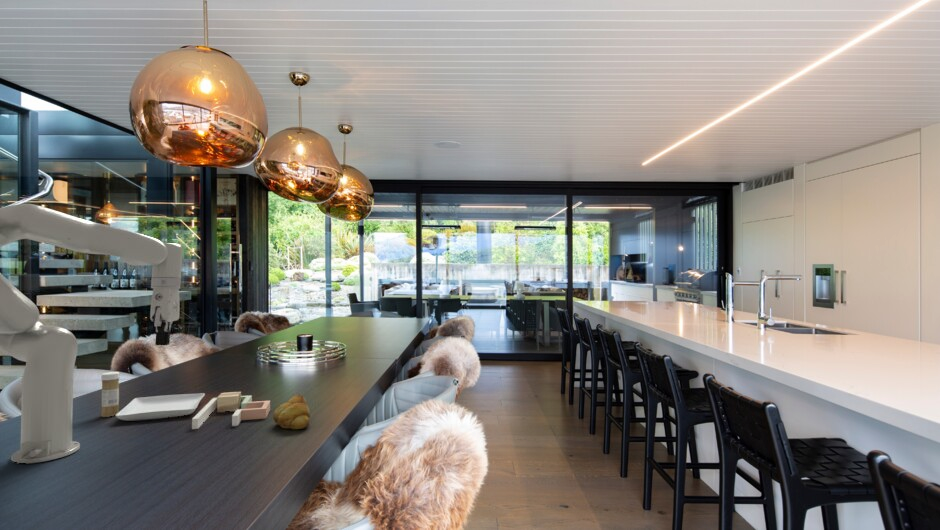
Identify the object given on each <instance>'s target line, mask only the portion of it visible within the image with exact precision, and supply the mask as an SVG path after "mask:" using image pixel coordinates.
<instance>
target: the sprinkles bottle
mask: <svg viewBox="0 0 940 530" xmlns="http://www.w3.org/2000/svg"><path fill="white" fill-rule="evenodd" d="M119 381H120V372H119V371H108V372H103V373H101V414H100V417H101V418H111V417H110V416H112V417H115V416H114V415H116V414H117V413H118V412H120V411H119V407H120V406H119V402H120V382H119Z"/></svg>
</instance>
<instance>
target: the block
mask: <svg viewBox="0 0 940 530" xmlns="http://www.w3.org/2000/svg"><path fill="white" fill-rule="evenodd" d="M241 396H242V391H230V392H229V391H228V392H221V393H220V394H219V395H218V396H217V397H216V398H217V408H216V413H226V412H225V411H230V412H235V411H236V410H237V409H241Z"/></svg>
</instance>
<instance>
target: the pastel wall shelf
mask: <svg viewBox="0 0 940 530" xmlns="http://www.w3.org/2000/svg"><path fill="white" fill-rule="evenodd" d="M216 410H217V397H212V398H211V399H210V400H209V401H208V402H207V403H206V404H205V405H204V406H203V407H202V408H201V409H200V410H199V411H198V412H197V414H196V415H195V416H193V417H192V419H191V430H198V429H199V428H200V427H201V426H202V425H203V424H204V423H205V421H207V420H208V418H209V417H210V416H211V415H212V414H213V413H214V411H216ZM270 411H271V400H260V401H259V400H258V401H257V400H256V401H253V396H252V395H241V407H240V408H239V409H237V410H236V411H234V413H233V414H232V415H231V427H237V426H239V425H240V423H241V421H247V420H249V421H250V420H262V419H267V417H268V415H269V413H270ZM212 412H213V413H212ZM211 413H212V414H211ZM210 414H211V415H210ZM209 415H210V416H209ZM203 422H204V423H203Z"/></svg>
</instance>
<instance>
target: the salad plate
mask: <svg viewBox="0 0 940 530" xmlns="http://www.w3.org/2000/svg"><path fill="white" fill-rule="evenodd" d="M205 396H206V393H204V392H200V393H183V394H166V395H155V396H145V397H144V396H143V397H142V396H141V397H135V398H134V399H132V400H131V401H130V402H129V403H128V404H127V405H126V406H124V407H123V408H122V409H121V410H120V411H119V412H118V413H117V414H116V415H115V416H114V417H116V418H117V419H118V420H121V421H127V422H129V421H130V422H131V421H132V422H135V421H145V420H146V421H147V420H157V419H166V418H167V419H168V417H169V418H177V417H178V416H179V417H184V415H185V416H188V415H191V414H193V413H194V412H195V411H196V410H197V408H198V406H199V404H200V402H201V400H203V398H204V397H205Z"/></svg>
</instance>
